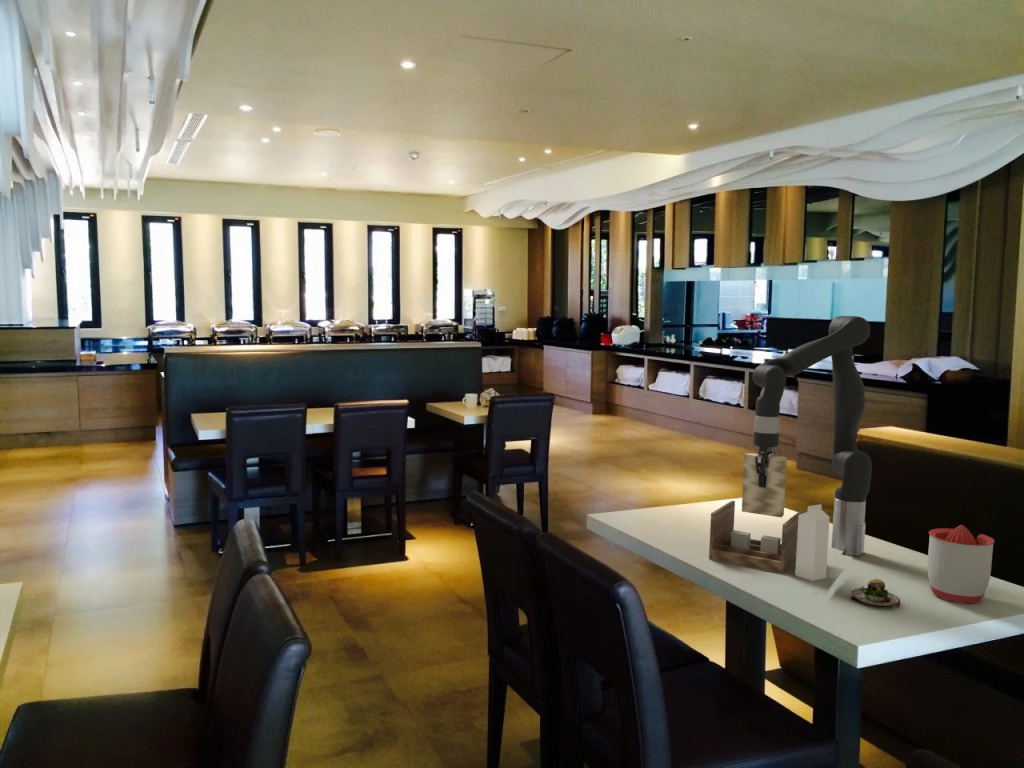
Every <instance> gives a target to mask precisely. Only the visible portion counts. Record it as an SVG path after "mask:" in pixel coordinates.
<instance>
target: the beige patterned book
mask: <svg viewBox="0 0 1024 768" xmlns="http://www.w3.org/2000/svg"><path fill="white" fill-rule="evenodd" d="M756 456H757V453H751V452H746V453H744V454H743V472H742V473H743V475H742V476H743V477H742V478H743V480H742V495H741V496H742V497H741V498H742V500H741V512H743V513H749V514H757V515H763V516H770V517H775V518H783V517H784V515H785V499H786V497H785V496H786V478H787V461H788V460H787V457H785V456H779V455H778V456H777V455H775V456H771V457H770V461H769V468H767V481H766V487H765V488H763V487H759V486H758V484H759V475H758V474H757V473H756V462H755V457H756ZM765 465H767V464H765ZM761 470H763V469H762V468H761Z"/></svg>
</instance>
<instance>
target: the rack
mask: <svg viewBox="0 0 1024 768" xmlns="http://www.w3.org/2000/svg"><path fill="white" fill-rule="evenodd" d="M735 507H736V500H731V501H729V502H727V503H725V504H724V505H722V506H720V507H718V508H717V509H716V510H714V511H712V512H711V513H710V528H709V548H708V551H709V552H708V560H713V561H718V562H723V563H729V564H733V565H739V566H744V567H748V568H753V569H759V570H763V571H769V572H775V573H778V574H779V573H780V574H785V573H786V572H787V570H789V568H790V567H791V566H792V565H793V564H794V563H796V552H797V535H798V518H799V515H801V514H803V513H804V511H802V510H799V511H798V512H797V513H795V514H794V515H793V516H791V517H790V518H789V519H788V520H786V521H785V522H784V523H783V524H782V528H781V529H782V531H781V534H782V535H781V543H780V555H777V554H771V553H766V552H760V548H761V539H754V538H750V550H749V549H744V548H738V547H733V546H731V532H733V531H734V530H735V529H734V528H735V512H736V511H735V509H736V508H735Z"/></svg>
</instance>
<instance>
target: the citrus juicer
mask: <svg viewBox="0 0 1024 768" xmlns="http://www.w3.org/2000/svg"><path fill="white" fill-rule="evenodd" d="M928 534H929V542H928V554H927V576H928V580H929V581H928V582H929V586H930V589H931V591H932V593H933V595H935V597H936V598H937V597H938V598H940V599H944V600H946V601H949V602H950V601H951V602H956V603H961V604H963V603H965V604H964V605H970V604H977V603H979V602H981V601H982V599H983V598H984V596H985V594H986V591H987V589H988V587H989V583H990V579H991V572H992V562H993V551H994V544H995V539H994V538H993V537H991V536H988V535H986V534H982V533H980V534H978V535H977V536H976V538H975V537H974V536H973V533H972V532H970V530H969V529H968V528H967V527H966V526H965V525H963V524H960V525H958V526H956V527H955V528H941V527H940V528H934V529H933V528H932V529H930V530H928Z"/></svg>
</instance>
